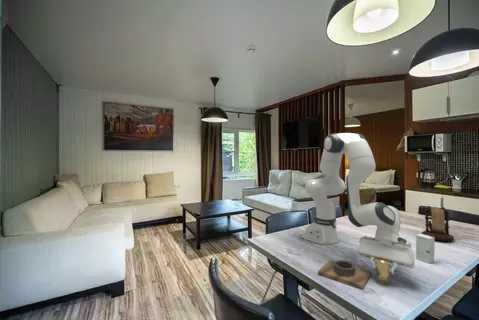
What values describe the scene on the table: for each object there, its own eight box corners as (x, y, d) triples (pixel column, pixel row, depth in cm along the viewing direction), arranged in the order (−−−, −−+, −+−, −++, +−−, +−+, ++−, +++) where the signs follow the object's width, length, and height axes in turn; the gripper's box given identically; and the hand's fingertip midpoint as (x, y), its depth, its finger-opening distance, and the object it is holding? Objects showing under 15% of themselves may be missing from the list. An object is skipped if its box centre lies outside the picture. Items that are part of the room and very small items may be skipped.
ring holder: (318, 274, 99) (317, 264, 99) (329, 263, 109) (329, 254, 109) (362, 289, 87) (362, 278, 87) (371, 275, 97) (370, 264, 97)
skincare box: (415, 258, 111) (415, 234, 111) (420, 257, 113) (420, 233, 113) (430, 264, 106) (429, 238, 106) (435, 262, 108) (434, 237, 108)
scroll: (425, 241, 134) (424, 208, 134) (419, 233, 147) (418, 203, 147) (458, 244, 127) (457, 210, 127) (448, 236, 140) (447, 205, 140)
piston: (376, 282, 92) (375, 260, 92) (378, 278, 95) (377, 257, 95) (388, 286, 89) (388, 263, 89) (390, 281, 92) (390, 260, 92)
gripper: (359, 231, 104) (353, 260, 97) (414, 242, 90) (413, 275, 83) (361, 238, 107) (356, 266, 100) (415, 249, 93) (414, 282, 86)
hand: (382, 270), depth 91 cm, fingers closed on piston, 4 cm apart
